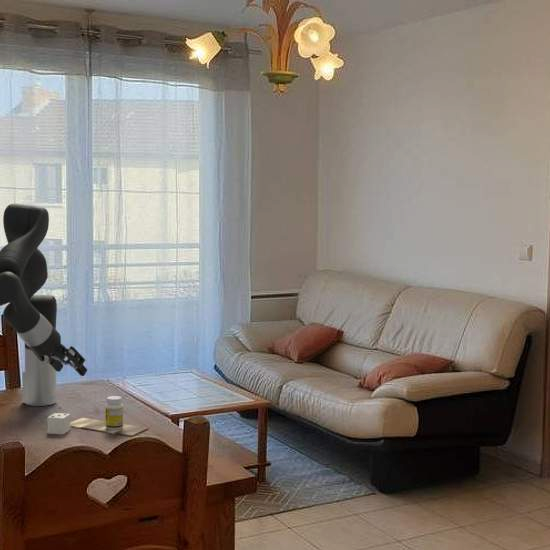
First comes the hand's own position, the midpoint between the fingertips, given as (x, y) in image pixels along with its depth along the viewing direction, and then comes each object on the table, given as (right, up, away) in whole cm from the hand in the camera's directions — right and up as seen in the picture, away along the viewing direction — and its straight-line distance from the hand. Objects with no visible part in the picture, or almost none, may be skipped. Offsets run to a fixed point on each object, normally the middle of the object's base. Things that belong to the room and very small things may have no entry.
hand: (72, 371), depth 209 cm
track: (+6, -17, +15) cm, 24 cm away
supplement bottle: (+8, -17, +14) cm, 24 cm away
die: (-6, -18, +11) cm, 22 cm away
